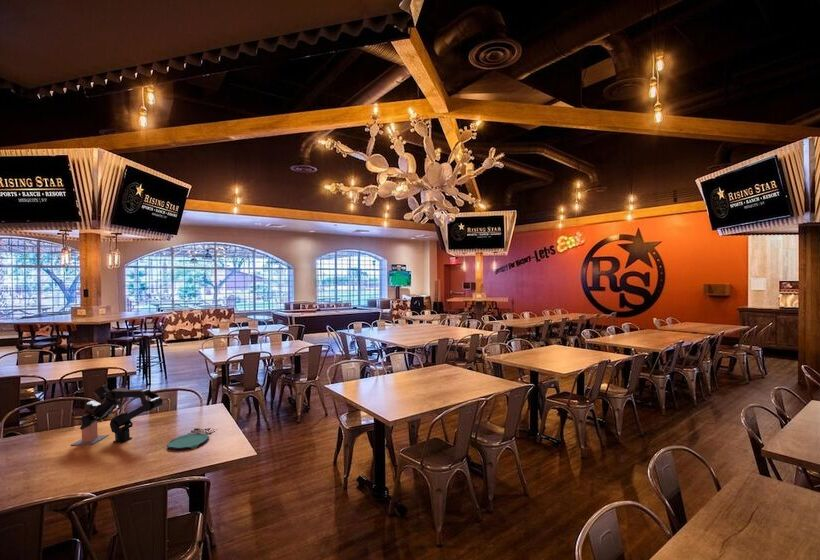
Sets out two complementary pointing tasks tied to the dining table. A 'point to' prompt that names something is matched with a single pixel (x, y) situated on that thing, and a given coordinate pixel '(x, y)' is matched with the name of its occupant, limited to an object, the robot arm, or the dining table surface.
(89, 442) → the slate mat
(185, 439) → the green leaf shaped mat
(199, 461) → the dining table surface
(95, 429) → the red block
